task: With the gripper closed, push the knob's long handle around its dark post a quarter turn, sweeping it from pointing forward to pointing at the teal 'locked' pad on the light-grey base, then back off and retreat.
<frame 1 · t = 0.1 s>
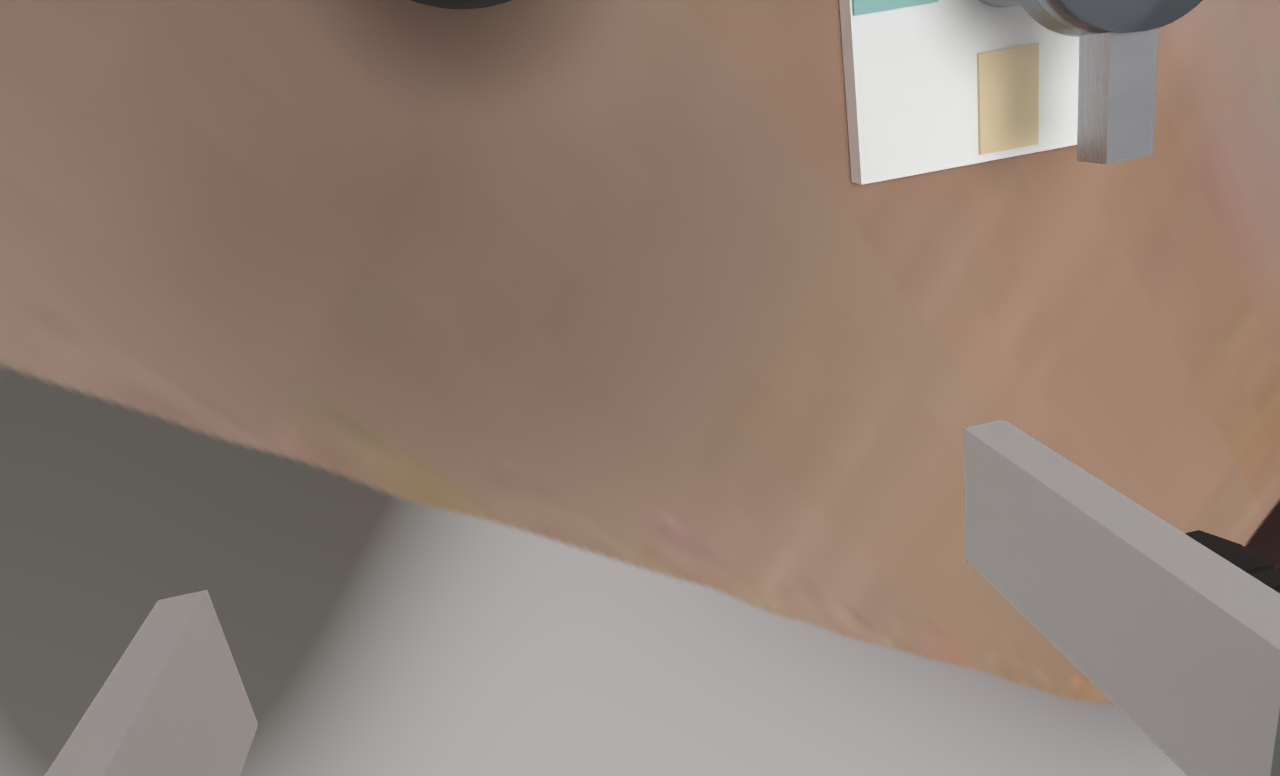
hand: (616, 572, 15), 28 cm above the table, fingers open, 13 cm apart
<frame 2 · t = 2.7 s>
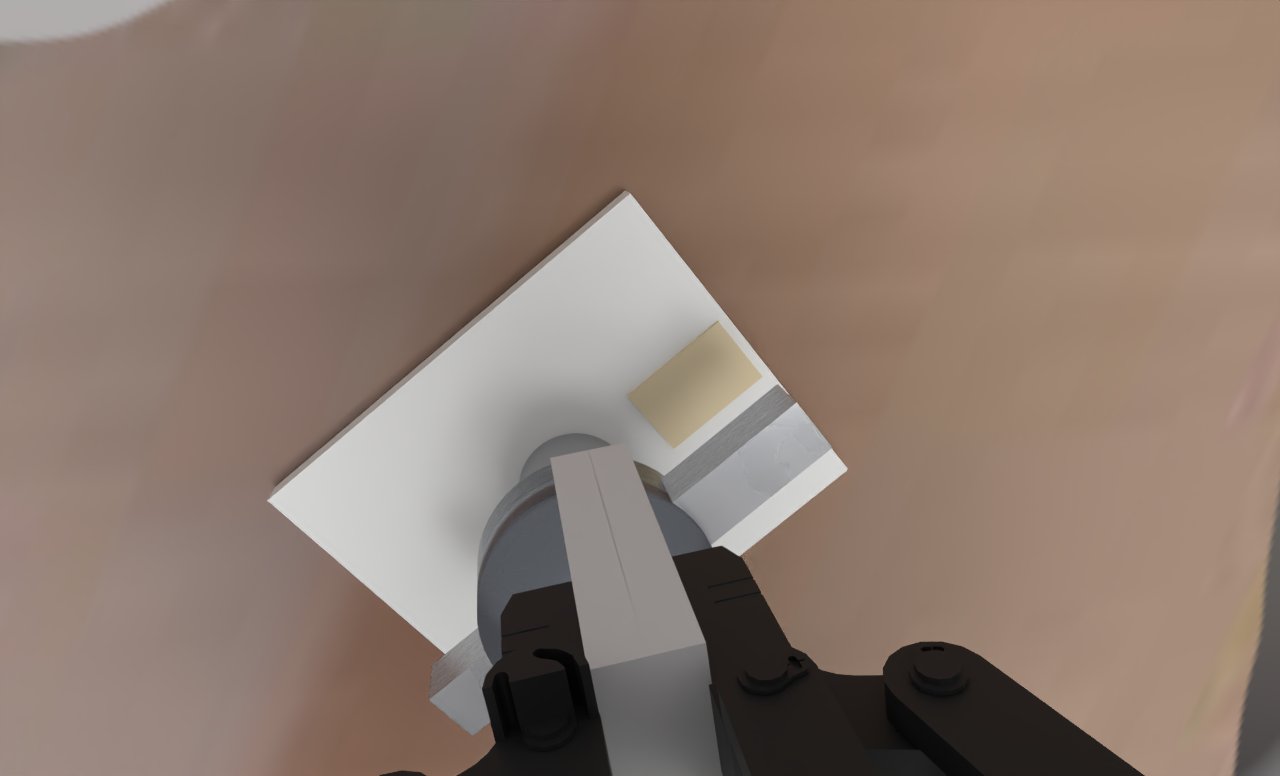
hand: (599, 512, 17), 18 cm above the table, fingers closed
lock base: (571, 472, 36), on the table
knob: (624, 560, 28), point 9 cm above the table, hinge at 0.0°
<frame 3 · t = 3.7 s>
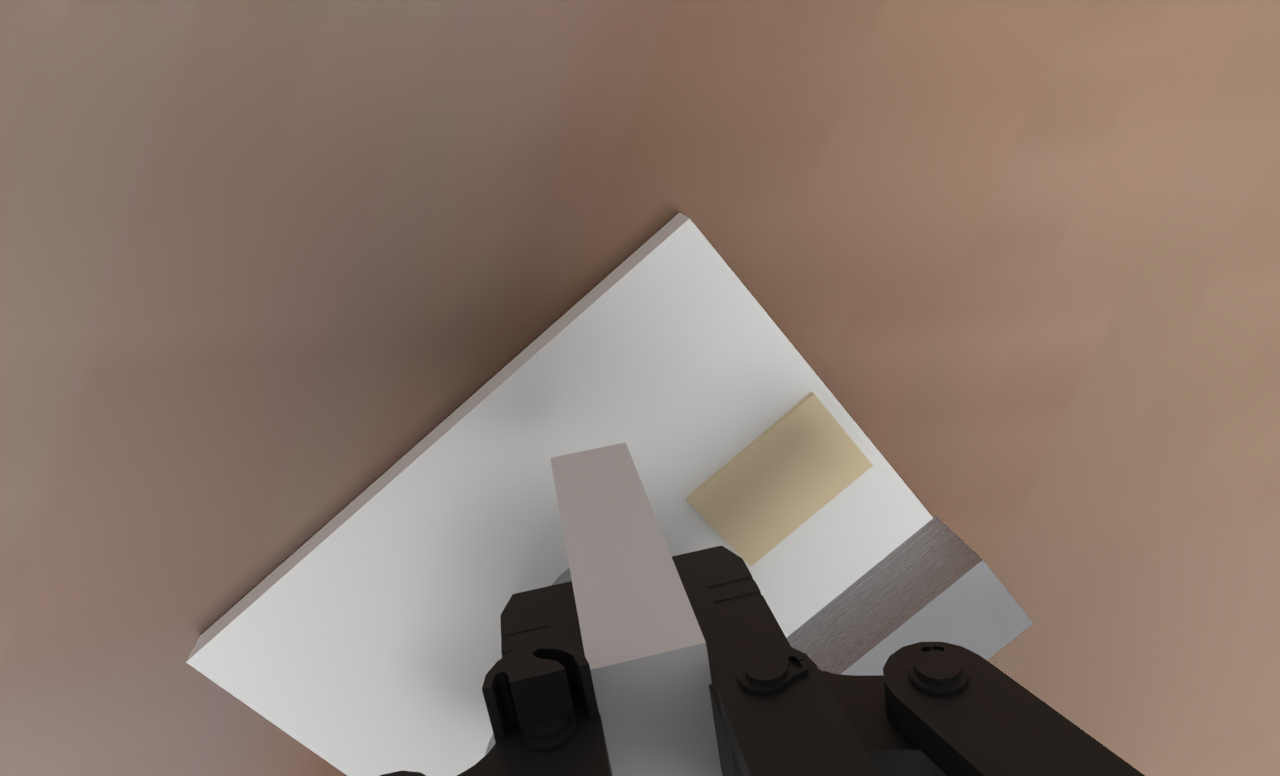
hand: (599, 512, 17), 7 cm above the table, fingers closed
lock base: (608, 595, 26), on the table
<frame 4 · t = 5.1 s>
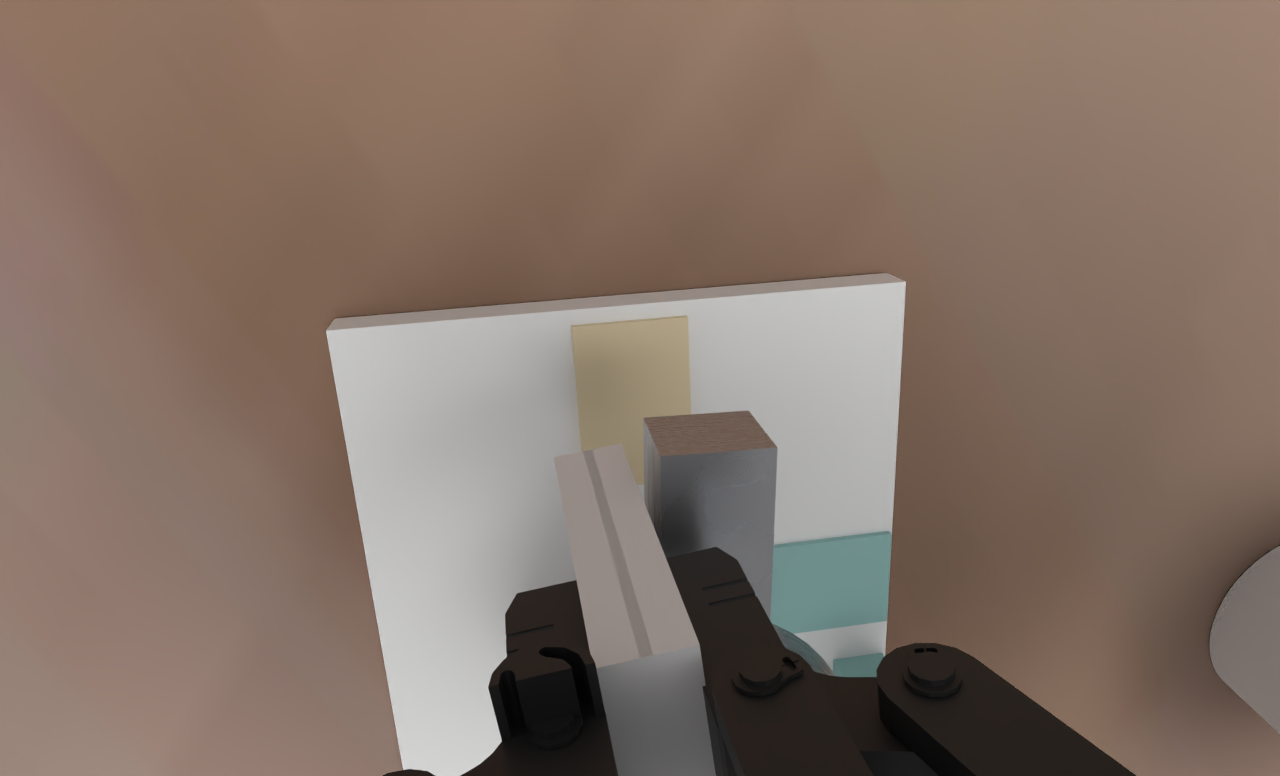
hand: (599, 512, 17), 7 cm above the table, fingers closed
lock base: (638, 584, 26), on the table
knob: (702, 766, 18), point 9 cm above the table, hinge at 2.0°, touching gripper
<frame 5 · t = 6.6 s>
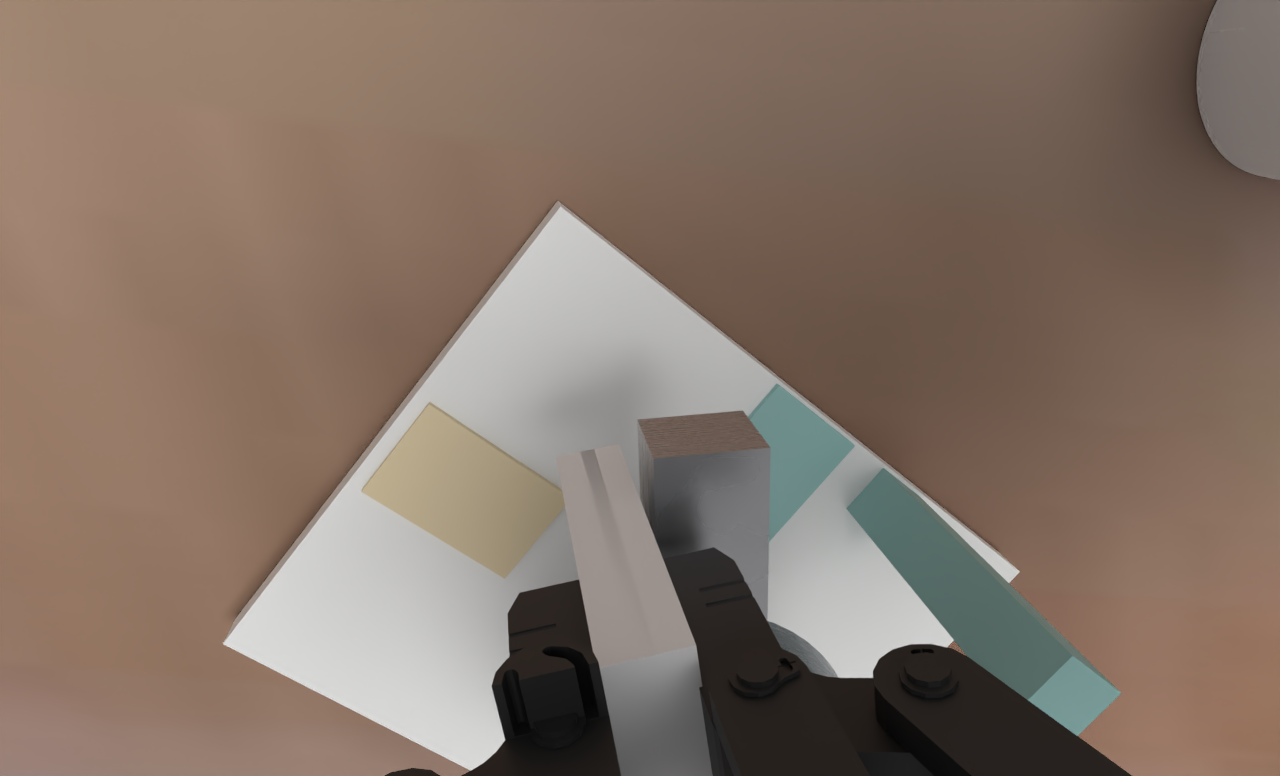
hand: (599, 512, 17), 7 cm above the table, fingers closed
lock base: (641, 583, 26), on the table
knob: (704, 765, 18), point 9 cm above the table, hinge at 48.7°, touching gripper
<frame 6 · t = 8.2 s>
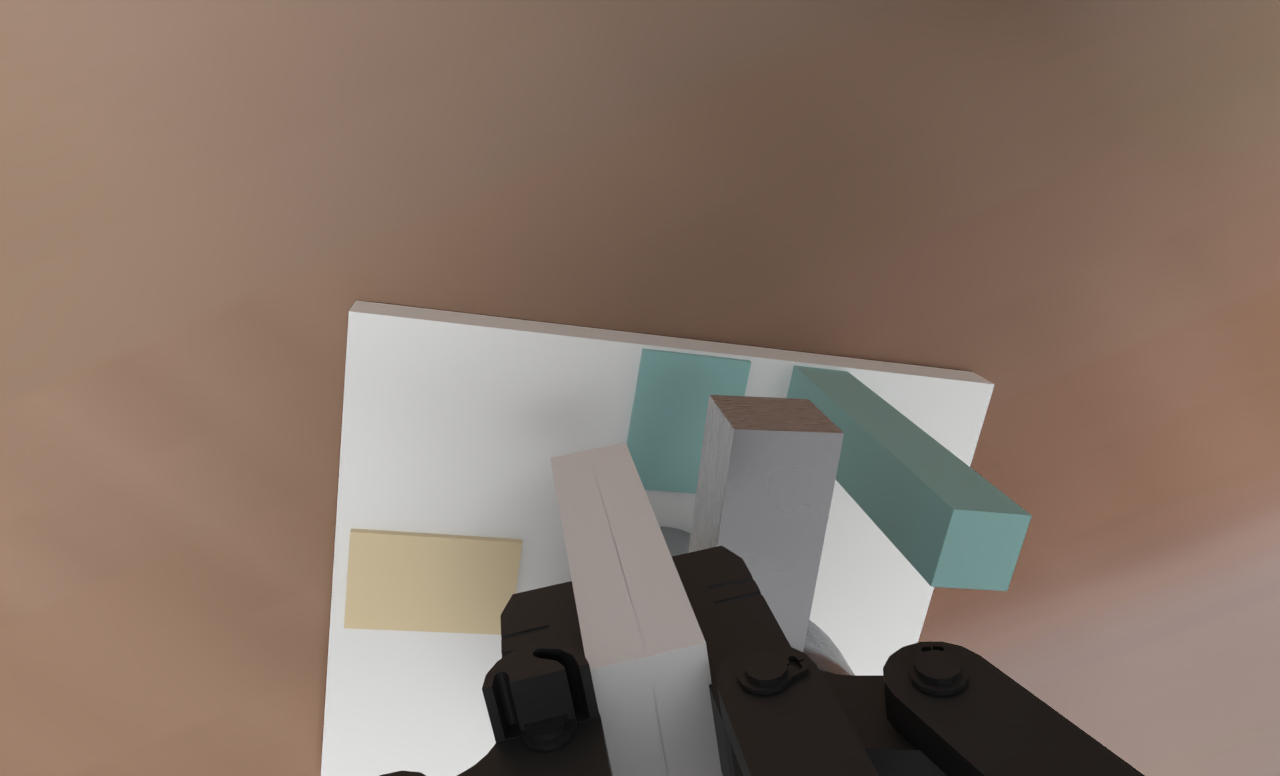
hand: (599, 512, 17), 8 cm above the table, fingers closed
lock base: (645, 572, 27), on the table
knob: (721, 743, 18), point 9 cm above the table, hinge at 86.6°
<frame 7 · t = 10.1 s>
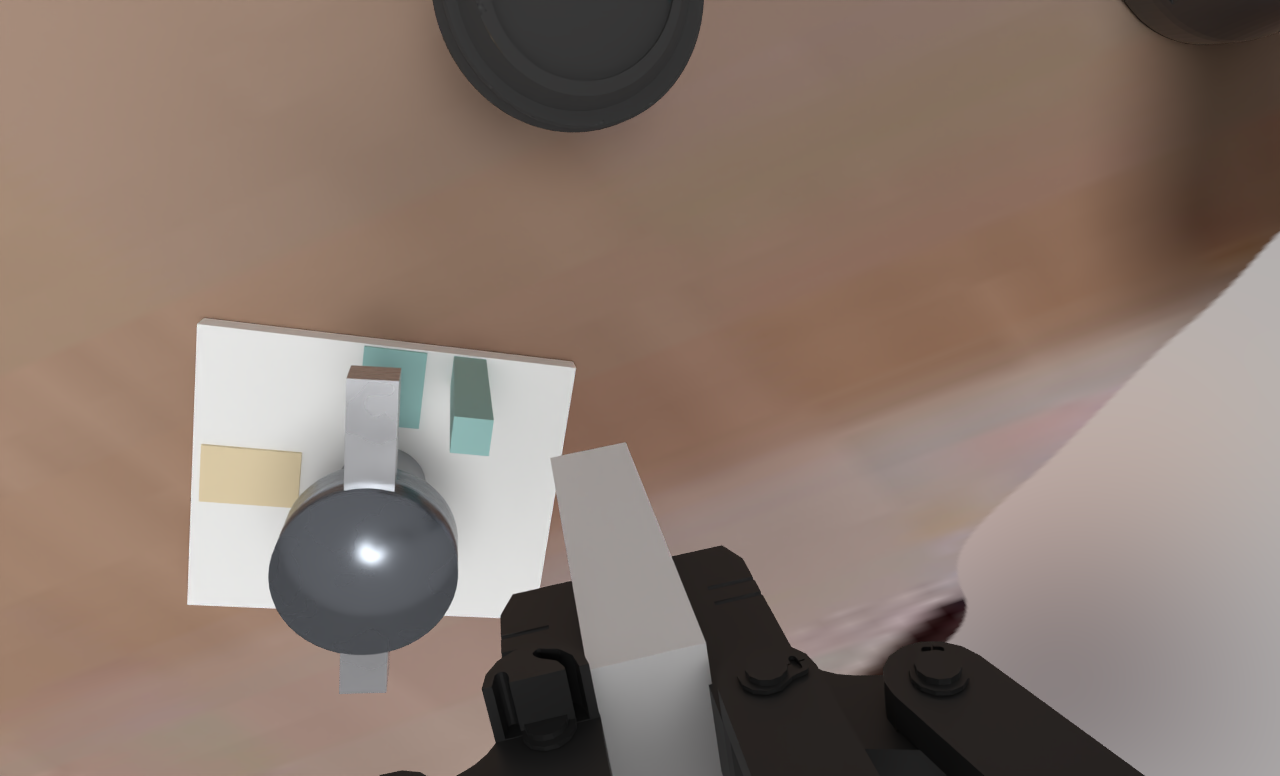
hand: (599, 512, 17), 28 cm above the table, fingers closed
lock base: (383, 476, 46), on the table
knob: (369, 535, 37), point 9 cm above the table, hinge at 86.6°
coffee cup: (536, 21, 40), on the table
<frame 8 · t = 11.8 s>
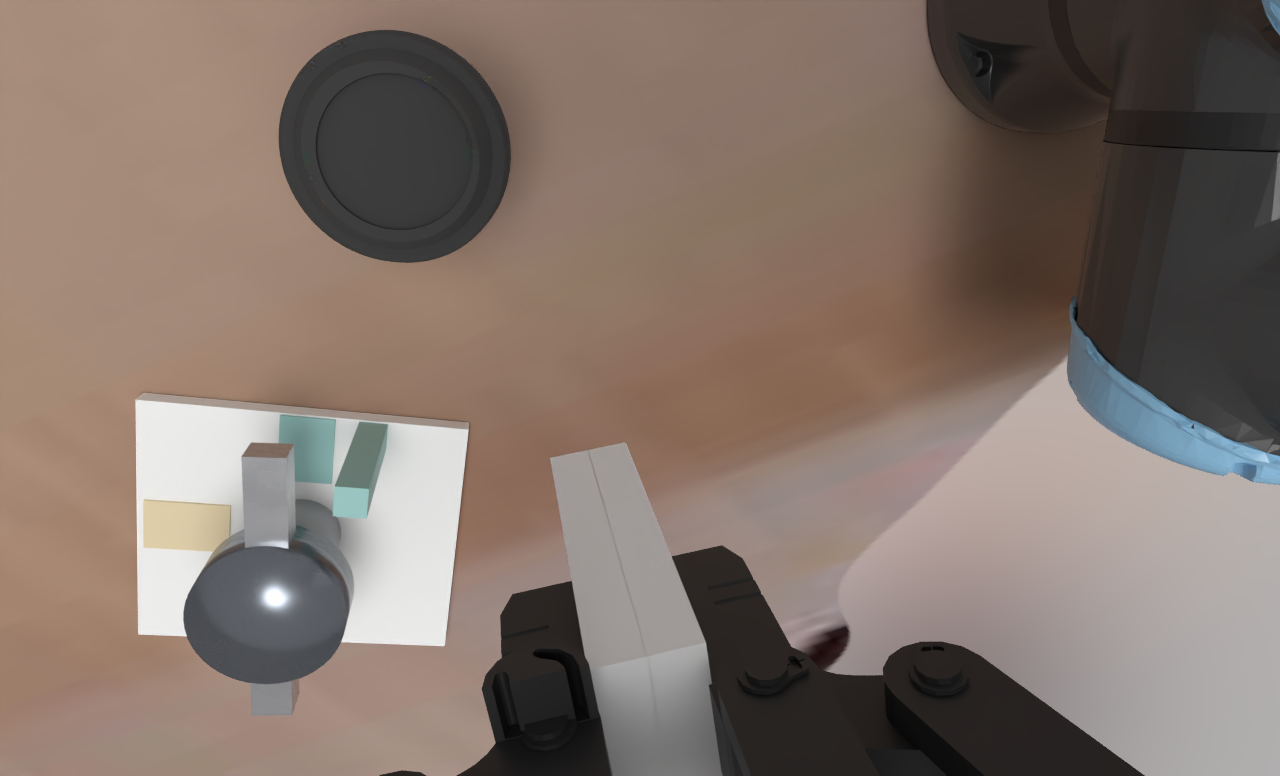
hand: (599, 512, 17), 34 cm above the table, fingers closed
lock base: (306, 523, 52), on the table
knob: (272, 583, 44), point 9 cm above the table, hinge at 86.6°
coffee cup: (419, 136, 47), on the table
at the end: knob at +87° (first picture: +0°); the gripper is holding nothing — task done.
